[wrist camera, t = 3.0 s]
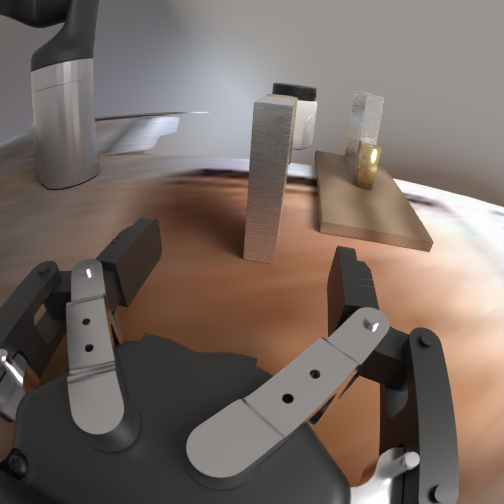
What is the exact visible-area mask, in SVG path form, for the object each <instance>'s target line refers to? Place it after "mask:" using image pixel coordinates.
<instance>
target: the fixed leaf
mask: <svg viewBox="0 0 504 504" xmlns="http://www.w3.org/2000/svg"><path fill="white" fill-rule="evenodd" d="M383 105H384V98H382V97H379V96H376V95H373V94H370V93H366V92H362V91H357V90H355V93H354V100H353V107H352V114H351V120H350V126H349V132H348V138H347V144H346V149H345V155H344V159H345V162H346V164H347V167H348V169H349V172H350V174H351V177H352V178H353V179H354V185H355V186H356V187H358V188H361V189H364V190H372V188H373V184H374V180H375V176H376V171H377V167H378V162H379V158H380V154H381V148H380V147H378V146H377V145H376V143H377V138H378V133H379V128H380V122H381V117H382V111H383Z"/></svg>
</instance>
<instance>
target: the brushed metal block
mask: <svg viewBox="0 0 504 504" xmlns="http://www.w3.org/2000/svg"><path fill="white" fill-rule="evenodd" d="M297 100H298V98H297V97H292V96H285V95H274V94H268V95H267V96H265V97H263V98H261V99H259V100H257V101H255V102H254V112H253V126H252V140H251V155H250V167H249V182H248V197H247V212H246V227H245V243H244V260H250V261H256V262H263V263H269V264H274V260H275V255H276V249H277V244H278V238H279V233H280V226H281V219H282V211H283V204H284V196H285V188H286V180H287V172H288V166H289V164H290V160H291V153H292V144H293V136H294V127H295V118H296V109H297Z"/></svg>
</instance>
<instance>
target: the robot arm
mask: <svg viewBox="0 0 504 504" xmlns="http://www.w3.org/2000/svg"><path fill="white" fill-rule="evenodd" d="M98 6H99V0H0V15H3V16H6V17H9V18H12V19H14V20H17V21H19V22H21V23H24V24H26V25H28V26H31V27H34V28H45V27H49V26H53V25H56V24H59V23H63V22H65V23H64V25H63V27H62V29H61V30H60V31H59V32H58V33H57V34H56V35H55V36H54V37H53V38H52V39H51V40H50V41H48V42H47V43H46V44H44V45H43V46H42V47H40V48H39V49H38V50H37V51H35V52H34V54H33V55H32V58H31V83H32V101H33V113H34V123H33V124H32V125H31V130H32V138H33V145H34V151H35V157H36V163H37V169H38V174H39V179H40V183H41V184H44V185H45V187H46V188H49V189H60V188H66V187H70V186H74V185H77V184H80V183H82V182H85V181H87V180H89V179H91V178H93V177H94V176H96V175H97V174H98V173H99V171H100V167H99V159H98V150H97V139H96V128H95V114H94V96H93V59H92V58H93V47H94V40H95V28H96V18H97V12H98ZM161 252H162V246H161V238H160V229H159V222H158V220H157V219H154V218H146V217H141V218H140V219H139V220H138V221H137V222H136V223H135V224H134V225H133V226H130V227H128V228H126V229H124V230H122V231H121V232H120V233H119V234H118V235H117V236H116V237H115V239H113V241H112V242H111V244H109V245H108V246H107V247H106V248H105V249H104V250H103V251H102V252H101V253H100V255H99V256H98V257H97V258H96V259H95V260H92V259H91V260H85V261H82V262H80V263H78V264H77V265H76V266H75V267H74V268H73V270H72V271H59V269H58V266H57V264H56V263H55V262H53V261H46V262H43V263H40V264H39V265H37V266H36V267H35V268H34V269H33V270H32V271H31V272H30V273H29V274H28V276H27V277H26V278H25V279H24V280H23V281H22V283H21V284H20V285H19V286H18V287H17V289H16V290H15V291H14V292H13V293H12V295H11V296H10V297H9V298H8V300H7V301H6V302H5V303H4V305H3V306H2V307H1V309H0V417H1V418H3V419H4V420H5V421H7V422H15V435H14V441H13V445H12V449H11V452H10V453H9V455H8V456H7V458H6V459H5V460H3V461H2V462H1V463H0V504H455V503H456V501H457V498H458V494H459V465H458V447H457V435H456V425H455V417H454V409H453V402H452V396H451V389H450V384H449V378H448V373H447V368H446V363H445V358H444V354H443V349H442V345H441V342H440V339H439V338H438V336H437V335H436V334H435V333H434V332H432V331H431V330H429V329H426V328H415V329H413V330H412V331H411V333H410V334H406V333H404V332H401V331H398V330H396V329H394V328H392V327H390V324H389V320H388V319H387V317H386V316H385V315H384V314H383V313H382V312H381V311H379V306H378V301H377V297H376V292H375V287H374V283H373V280H372V279H373V278H372V274H371V270H370V269H369V267H368V266H367V265H366V263H365V262H361V261H357V257H356V252H355V249H353V248H347V247H341V246H337V248H336V252H335V255H334V259H333V263H332V266H331V270H330V273H329V277H328V284H327V297H328V338H327V339H325V338H324V337H321V338H319V339H318V340H317V341H315V342H314V343H313V344H312V345H311V346H310V347H309V348H307V349H306V350H305V351H304V352H303V353H302V354H300V355H299V356H298V357H297V358H296V359H294V360H293V361H292V362H291V363H290V364H288V365H287V366H286V367H285V368H283V369H282V370H281V371H280V372H278V373H277V374H276V375H275V376H272V375H271V374H270V373H268V372H266V371H265V370H263V369H261V368H259V367H256V363H257V358H254V357H249V356H243V355H238V354H233V353H198V352H194V351H192V350H190V349H188V348H186V347H184V346H182V345H180V344H178V343H176V342H174V341H172V340H170V339H166V338H162V337H158V336H154V335H150V334H147V333H145V334H144V336H143V338H142V340H141V341H130V342H125V343H123V340H122V335H121V331H120V326H119V321H118V317H117V312H116V307H117V306H118V305H120V306H124V307H128V306H129V305H130V303H131V301H132V300H133V298H134V297H135V295H136V294H137V292H138V291H139V289H140V288H141V286H142V285H143V283H144V282H145V280H146V279H147V277H148V276H149V274H150V273H151V271H152V270H153V268H154V267H155V265H156V264H157V262H158V261H159V259H160V256H161ZM42 304H44V306H45V308H46V310H47V311H46V312H45V314H44V315H43V316H42V318H41V319H40V321H39V322H38V324H37V325H36V326H35V324H34V316H35V313H36V312H37V311H38V309H39V308H40V306H41V305H42ZM66 332H67V346H68V359H69V370H68V371H66V372H64V373H62V374H60V375H58V376H56V377H54V378H52V379H50V380H48V381H46V382H44V383H42V384H40V385H39V378H40V377H41V375H42V373H43V371H44V369H45V367H46V366H47V364H48V362H49V360H50V359H51V357H52V355H53V353H54V352H55V350H56V348H57V347H58V345H59V343H60V342H61V340H62V338H63V337H64V335H65V333H66ZM360 376H362V377H365V378H367V379H370V380H372V381H375V382H378V383H380V447H379V456H378V457H377V458H375V459H374V460H372V461H371V462H370V463H368V465H367V466H366V467H365V469H364V471H363V474H362V478H361V480H360V482H359V483H358V485H357V486H356V487H354V488H350V484H349V482H348V480H347V478H346V476H345V475H344V473H343V472H342V470H341V469H340V468H339V466H338V465H337V463H336V462H335V461H334V459H333V458H332V456H331V455H330V454H329V452H328V451H327V449H326V448H325V447H324V445H323V444H322V442H321V441H320V439H319V438H318V436H317V435H316V434H315V432H314V431H313V428H314V427H315V426H316V425H317V424H318V423H319V422H320V421H321V420H322V419H323V418H324V417H325V416H326V415H327V414H328V412H329V411H330V410H331V409H332V408H333V406H334V405H335V404H336V403H337V402H338V401H339V400H340V399H341V398H342V397H343V395H344V394H345V393H346V392H347V391H348V390H349V389H350V388H351V386H352V385H353V384H354V383H355V382H356V381H357V380H358V378H359V377H360Z"/></svg>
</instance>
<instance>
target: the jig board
mask: <svg viewBox="0 0 504 504" xmlns="http://www.w3.org/2000/svg"><path fill="white" fill-rule="evenodd" d="M315 164H316V176H317V189H318V204H319V221H320V233H326V234H332V235H338V236H344V237H350V238H356V239H362V240H367V241H373V242H379V243H384V244H390V245H395V246H401V247H406V248H412V249H417V250H422V251H427V252H430V249H431V247H432V245H433V240H432V239H431V237H430V235H429V234H428V232H427V230H426V229H425V227H424V225H423V224H422V222H421V221H420V219H419V217H418V216H417V214H416V213H415V211H414V210H413V208H412V206H411V205H410V203H409V202H408V200H407V199H406V197H405V196H404V194H403V193H402V192H401V190H400V189H399V187H398V186H397V184H396V183H395V181H394V180H393V179H392V178H391V176H390V175H389V173H388V172H387V171H386V169H385V168H384V166H383V165H382V164H381V163H378V167H377V171H376V176H375V180H374V184H373V188H372V190H364V189H361V188H358V187H356V186H355V185H354V179H353V178H352V177H351V174H350V172H349V169H348V167H347V164H346V162H345V159H344V156H342V155H337V154H332V153H326V152H320V151H316V153H315Z"/></svg>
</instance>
